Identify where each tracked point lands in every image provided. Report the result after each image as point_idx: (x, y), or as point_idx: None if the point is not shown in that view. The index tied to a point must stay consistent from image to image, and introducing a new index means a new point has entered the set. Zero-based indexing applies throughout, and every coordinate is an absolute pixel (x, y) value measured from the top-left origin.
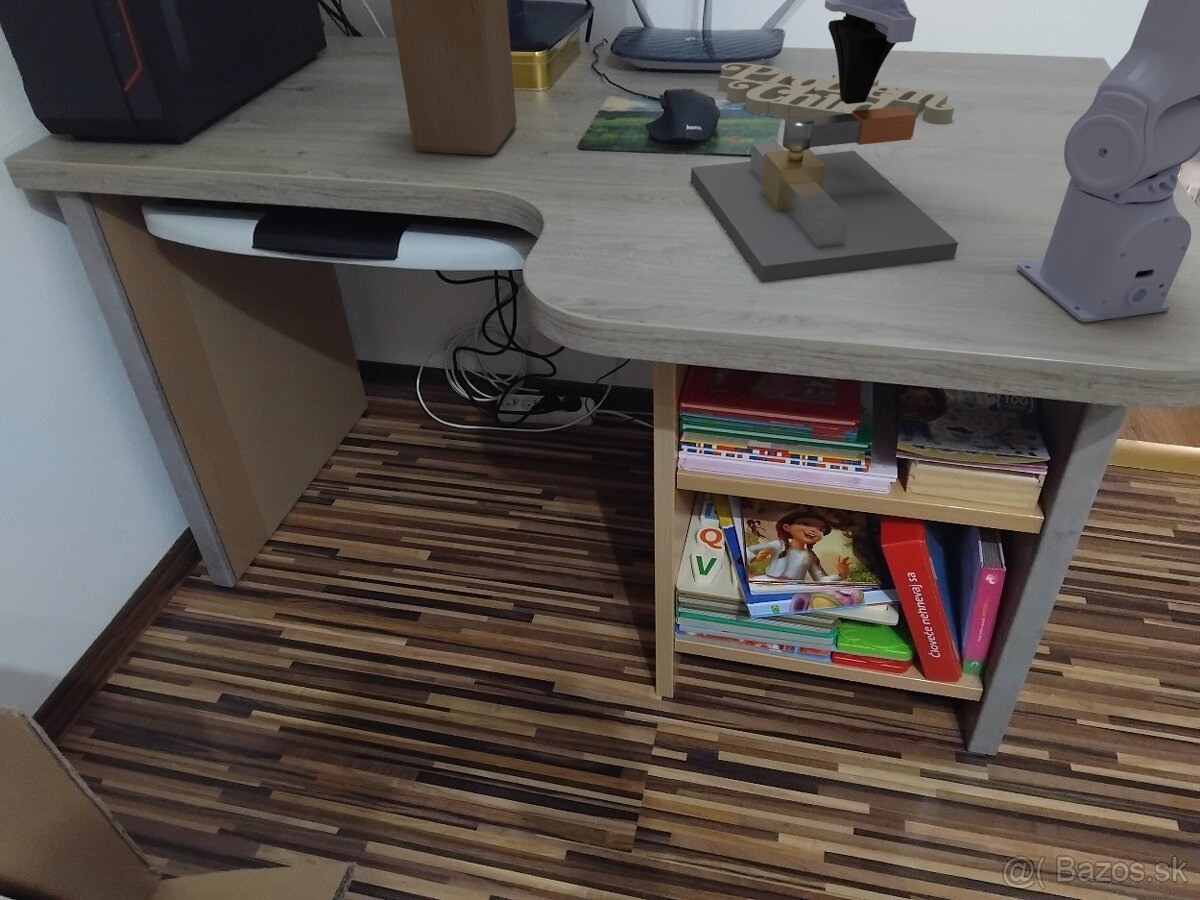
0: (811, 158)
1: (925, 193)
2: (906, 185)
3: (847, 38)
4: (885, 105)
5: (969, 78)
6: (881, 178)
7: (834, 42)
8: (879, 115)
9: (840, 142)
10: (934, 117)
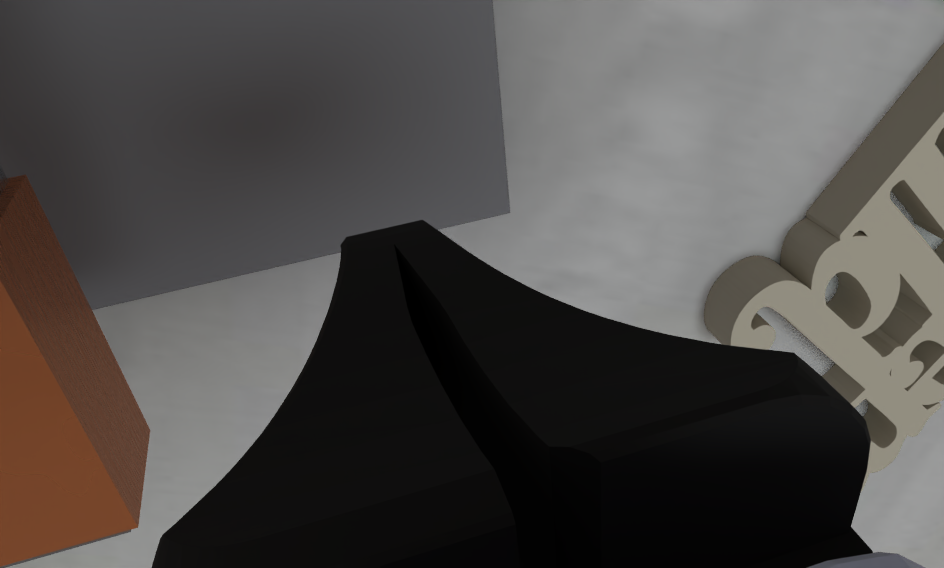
0: None
1: (223, 377)
2: (292, 333)
3: (171, 555)
4: (838, 364)
5: (938, 539)
6: (219, 265)
7: (635, 341)
8: None
9: None
10: None
